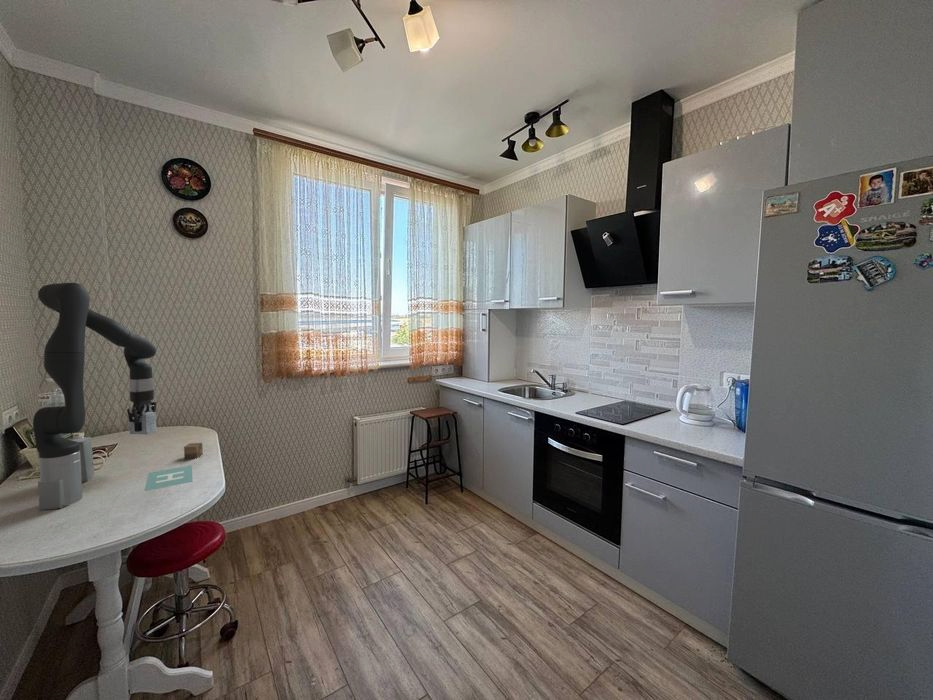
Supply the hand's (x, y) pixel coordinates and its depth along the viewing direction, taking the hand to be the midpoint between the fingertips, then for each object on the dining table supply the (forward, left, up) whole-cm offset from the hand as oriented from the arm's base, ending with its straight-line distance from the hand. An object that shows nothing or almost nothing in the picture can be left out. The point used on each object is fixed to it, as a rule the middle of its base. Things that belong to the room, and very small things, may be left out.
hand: (143, 429), depth 152 cm
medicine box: (0, 0, -2) cm, 2 cm away
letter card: (-12, -16, -17) cm, 26 cm away
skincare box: (-9, +17, -17) cm, 26 cm away
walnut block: (+11, -13, -17) cm, 24 cm away
